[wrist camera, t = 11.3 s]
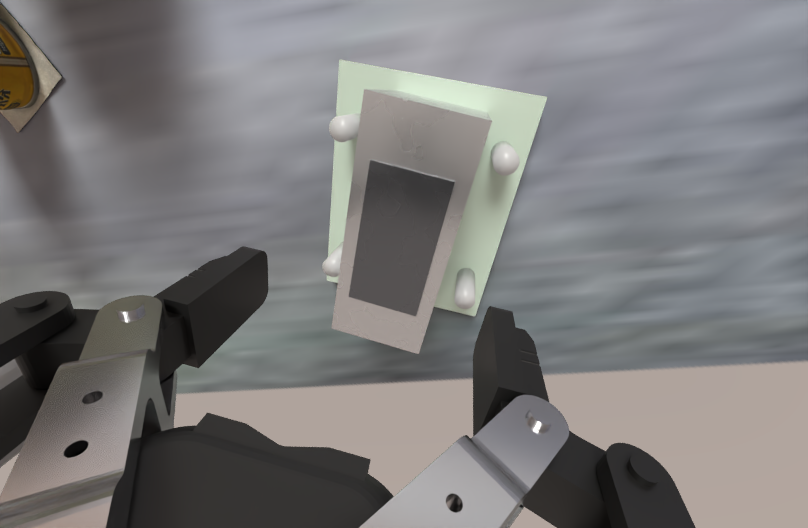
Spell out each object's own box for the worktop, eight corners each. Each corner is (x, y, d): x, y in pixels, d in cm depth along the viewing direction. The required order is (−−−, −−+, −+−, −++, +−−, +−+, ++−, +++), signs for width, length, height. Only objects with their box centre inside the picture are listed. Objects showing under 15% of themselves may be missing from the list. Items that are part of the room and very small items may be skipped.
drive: (396, 89, 18) (362, 89, 13) (487, 112, 18) (492, 121, 12) (363, 276, 24) (330, 329, 18) (431, 295, 23) (418, 356, 18)
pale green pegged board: (475, 304, 25) (475, 344, 21) (334, 270, 26) (308, 302, 22) (542, 96, 18) (560, 98, 14) (348, 61, 19) (315, 53, 15)
